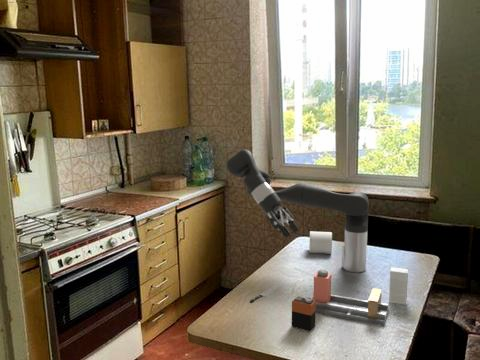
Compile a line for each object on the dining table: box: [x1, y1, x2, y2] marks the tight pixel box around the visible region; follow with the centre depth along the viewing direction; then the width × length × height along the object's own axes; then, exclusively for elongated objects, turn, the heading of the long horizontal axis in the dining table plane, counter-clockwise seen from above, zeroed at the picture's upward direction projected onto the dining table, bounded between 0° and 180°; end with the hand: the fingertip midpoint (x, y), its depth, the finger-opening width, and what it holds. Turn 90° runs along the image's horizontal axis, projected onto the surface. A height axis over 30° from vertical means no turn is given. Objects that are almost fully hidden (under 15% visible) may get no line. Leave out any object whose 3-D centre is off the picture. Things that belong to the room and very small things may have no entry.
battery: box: [291, 295, 317, 332], centre depth 150 cm, size 4×7×10 cm, turn 60°
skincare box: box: [388, 266, 409, 305], centre depth 167 cm, size 6×4×12 cm
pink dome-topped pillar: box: [312, 269, 332, 303], centre depth 164 cm, size 5×5×11 cm
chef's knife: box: [249, 285, 277, 303], centre depth 175 cm, size 19×1×3 cm
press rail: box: [311, 288, 390, 326], centre depth 161 cm, size 26×12×8 cm, turn 66°
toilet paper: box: [309, 230, 333, 255], centre depth 218 cm, size 10×10×10 cm
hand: (293, 234), depth 166 cm, fingers open, 8 cm apart
